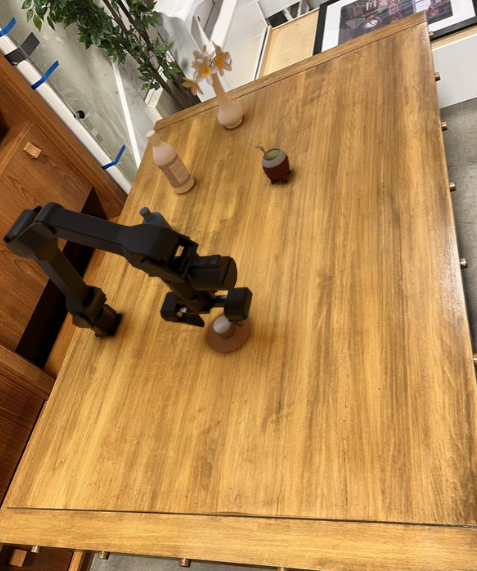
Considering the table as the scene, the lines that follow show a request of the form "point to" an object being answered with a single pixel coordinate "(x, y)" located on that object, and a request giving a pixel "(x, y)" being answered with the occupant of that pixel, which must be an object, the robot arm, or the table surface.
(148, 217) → the bottle
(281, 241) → the table surface
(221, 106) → the flower vase
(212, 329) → the coaster
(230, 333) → the cap
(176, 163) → the bath foam
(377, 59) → the table surface
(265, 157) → the mate gourd
